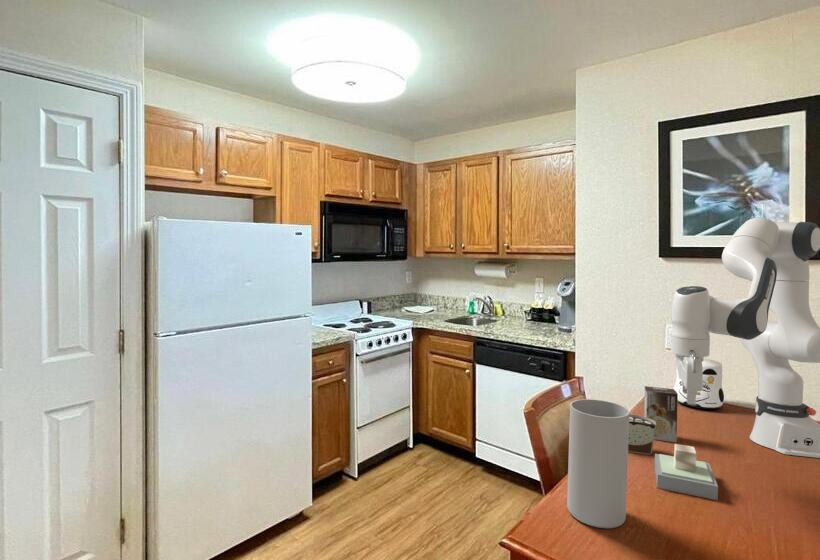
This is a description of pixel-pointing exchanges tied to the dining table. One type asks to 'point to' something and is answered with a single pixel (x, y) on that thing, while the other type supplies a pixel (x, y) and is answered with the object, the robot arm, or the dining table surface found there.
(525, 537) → the dining table surface
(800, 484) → the dining table surface
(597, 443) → the cylinder vase
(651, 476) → the dining table surface
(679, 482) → the base
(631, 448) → the food container
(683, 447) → the cream block
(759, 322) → the robot arm
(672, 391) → the coffee box
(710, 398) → the milk container
